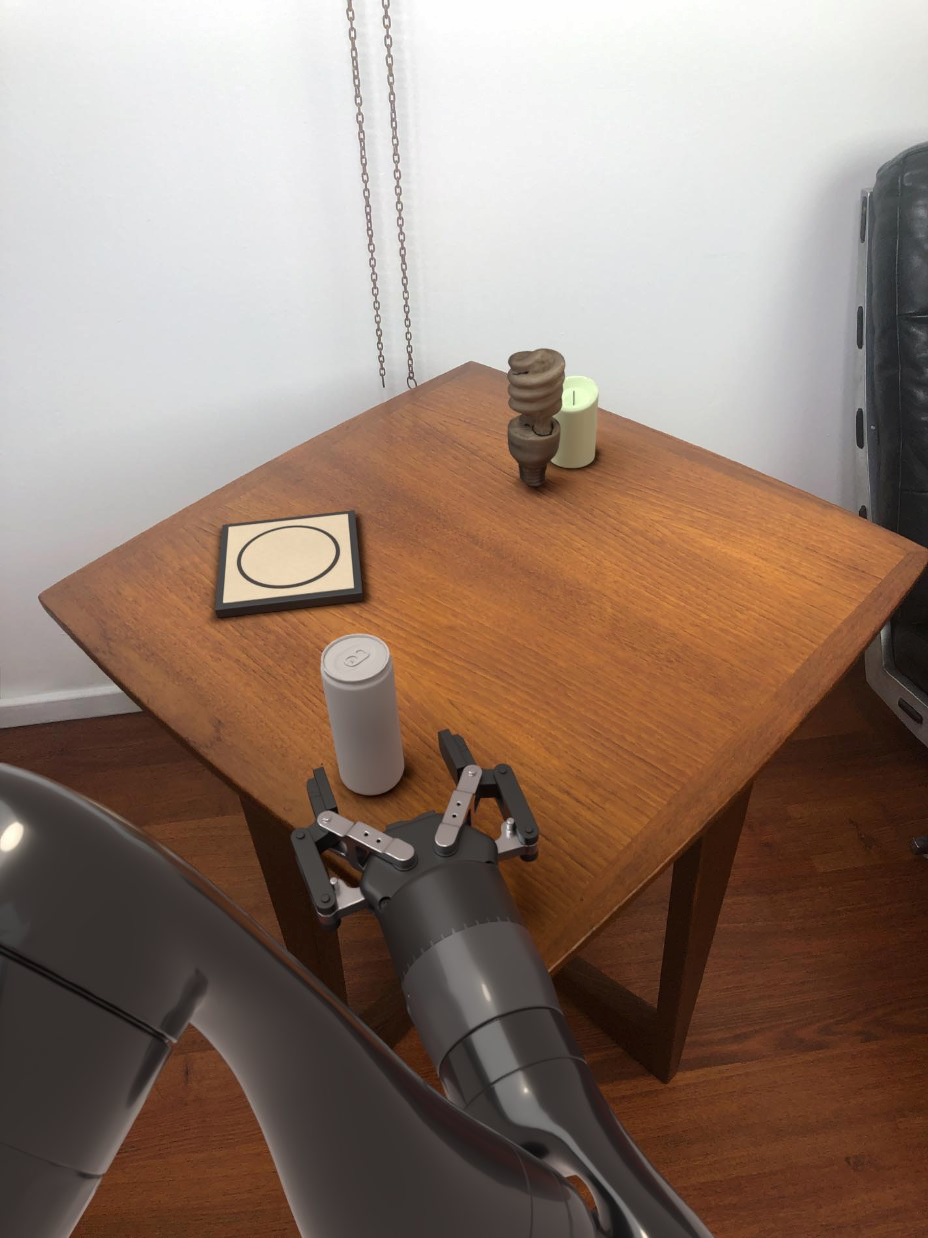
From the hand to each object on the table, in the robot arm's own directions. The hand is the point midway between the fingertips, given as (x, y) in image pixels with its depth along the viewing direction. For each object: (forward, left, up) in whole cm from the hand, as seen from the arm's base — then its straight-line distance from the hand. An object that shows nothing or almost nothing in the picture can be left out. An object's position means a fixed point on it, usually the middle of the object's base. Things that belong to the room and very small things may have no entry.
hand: (381, 756), depth 63 cm
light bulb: (+18, +40, -7) cm, 44 cm away
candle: (+23, +44, -7) cm, 51 cm away
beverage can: (-1, +5, -7) cm, 8 cm away
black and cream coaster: (-7, +31, -7) cm, 33 cm away
